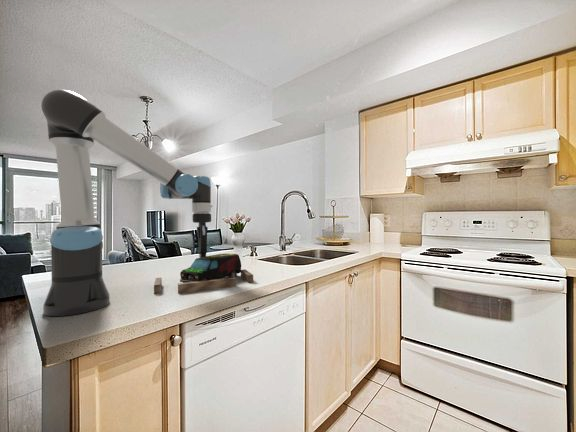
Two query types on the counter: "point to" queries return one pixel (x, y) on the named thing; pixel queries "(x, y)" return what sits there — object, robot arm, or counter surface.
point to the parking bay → (205, 283)
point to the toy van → (212, 268)
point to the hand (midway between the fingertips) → (203, 268)
